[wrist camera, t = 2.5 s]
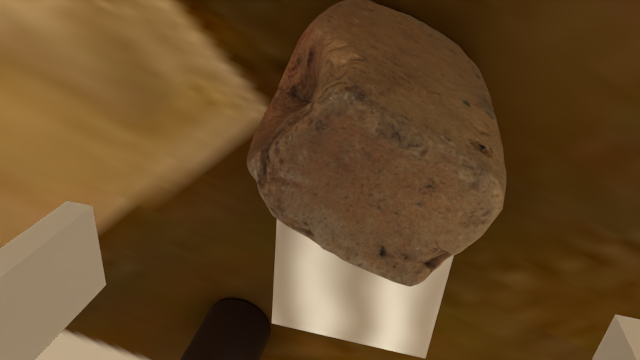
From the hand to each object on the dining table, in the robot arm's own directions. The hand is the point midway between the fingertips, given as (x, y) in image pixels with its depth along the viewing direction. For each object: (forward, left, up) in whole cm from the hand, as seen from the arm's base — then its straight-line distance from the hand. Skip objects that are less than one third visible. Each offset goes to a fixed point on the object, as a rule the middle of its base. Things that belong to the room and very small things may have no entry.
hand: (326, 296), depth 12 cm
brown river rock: (0, 0, -26) cm, 26 cm away
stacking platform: (0, -17, -25) cm, 30 cm away
